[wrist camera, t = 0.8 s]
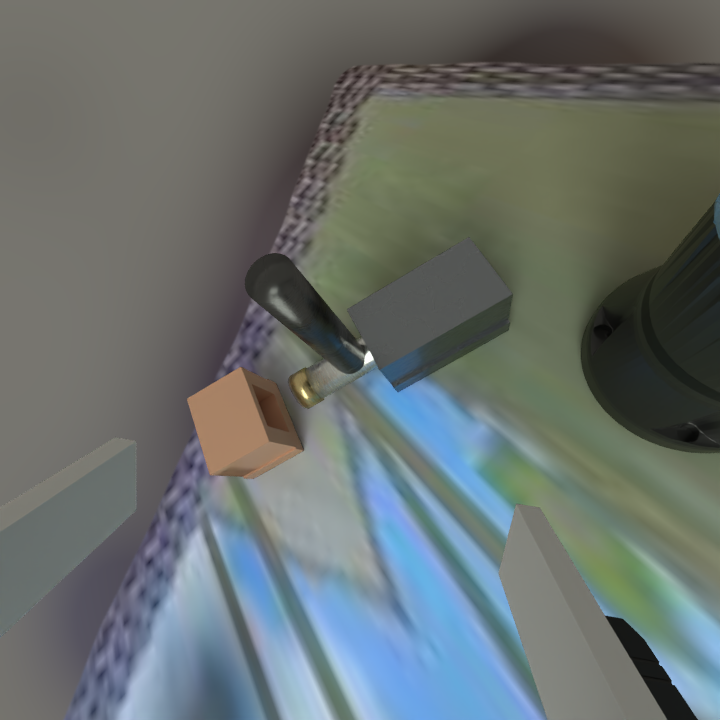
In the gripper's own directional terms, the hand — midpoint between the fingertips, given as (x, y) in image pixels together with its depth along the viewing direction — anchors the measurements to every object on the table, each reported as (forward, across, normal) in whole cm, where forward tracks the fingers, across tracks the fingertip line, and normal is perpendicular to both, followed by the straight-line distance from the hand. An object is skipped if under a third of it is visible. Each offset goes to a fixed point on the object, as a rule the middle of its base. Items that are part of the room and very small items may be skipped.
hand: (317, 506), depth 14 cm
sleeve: (+28, +6, +2) cm, 28 cm away
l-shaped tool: (+25, +2, +1) cm, 25 cm away
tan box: (+26, -10, -10) cm, 29 cm away
